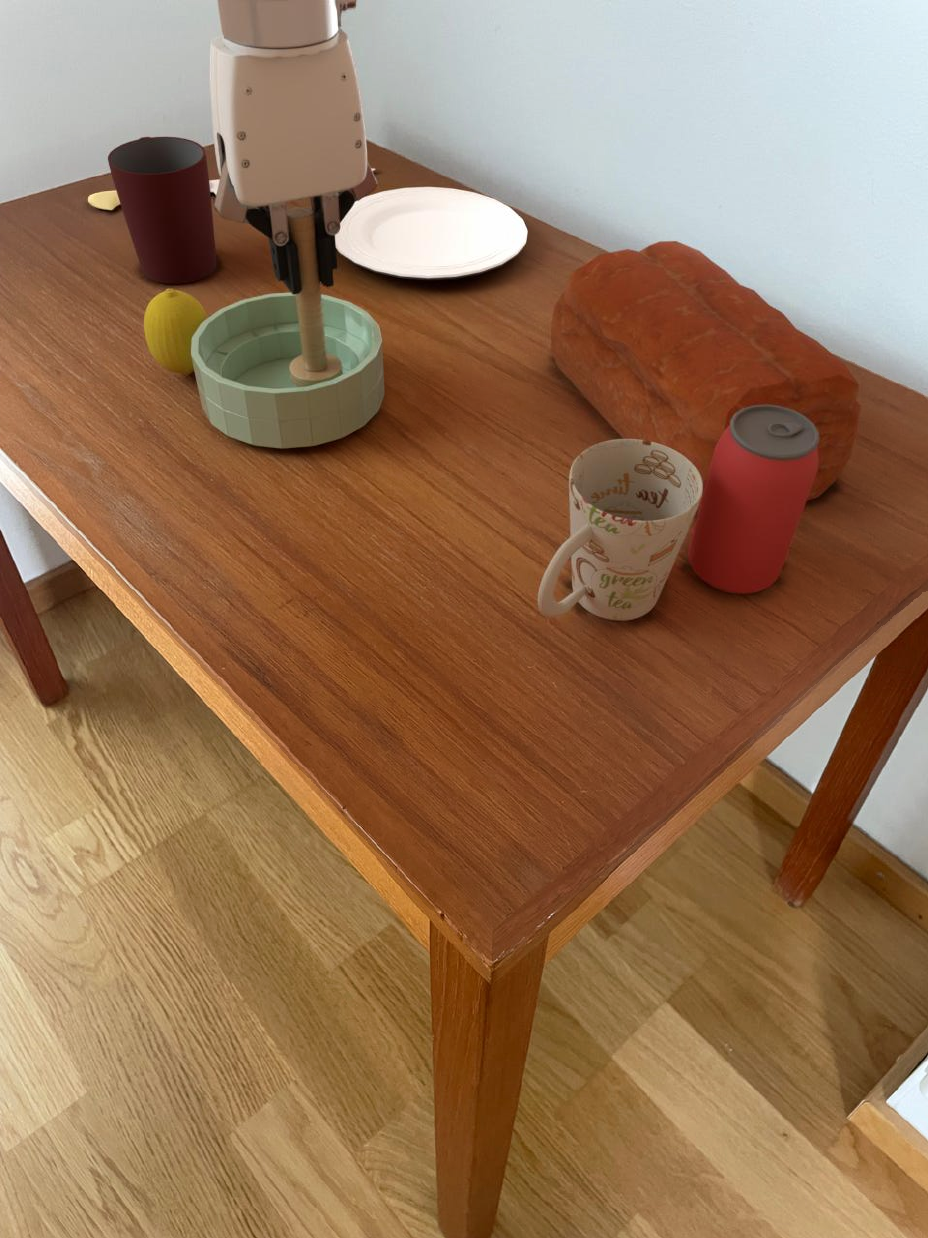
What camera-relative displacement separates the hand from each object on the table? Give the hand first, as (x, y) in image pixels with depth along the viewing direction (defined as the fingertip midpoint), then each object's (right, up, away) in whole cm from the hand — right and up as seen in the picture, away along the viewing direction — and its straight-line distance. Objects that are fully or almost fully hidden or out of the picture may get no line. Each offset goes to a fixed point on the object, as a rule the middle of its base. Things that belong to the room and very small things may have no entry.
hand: (306, 280), depth 75 cm
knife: (-14, +22, +35) cm, 44 cm away
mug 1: (-17, +10, +24) cm, 31 cm away
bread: (+31, -9, +7) cm, 33 cm away
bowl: (-2, -8, +7) cm, 11 cm away
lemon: (-12, -5, +10) cm, 16 cm away
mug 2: (+21, -26, -9) cm, 35 cm away
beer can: (+32, -23, -6) cm, 39 cm away
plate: (+9, +13, +27) cm, 32 cm away
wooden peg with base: (0, -6, +6) cm, 9 cm away
